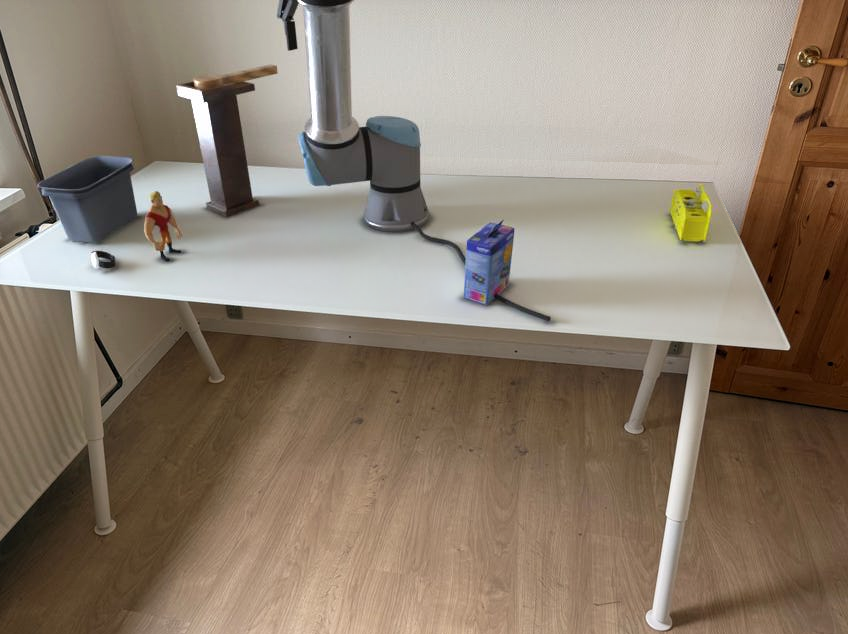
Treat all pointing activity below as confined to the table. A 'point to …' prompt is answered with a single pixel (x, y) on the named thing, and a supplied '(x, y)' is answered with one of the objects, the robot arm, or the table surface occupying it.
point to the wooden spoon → (233, 77)
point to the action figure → (160, 224)
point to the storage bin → (93, 197)
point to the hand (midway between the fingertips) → (310, 52)
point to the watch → (102, 264)
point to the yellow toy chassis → (691, 213)
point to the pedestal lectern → (222, 145)
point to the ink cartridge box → (488, 262)
